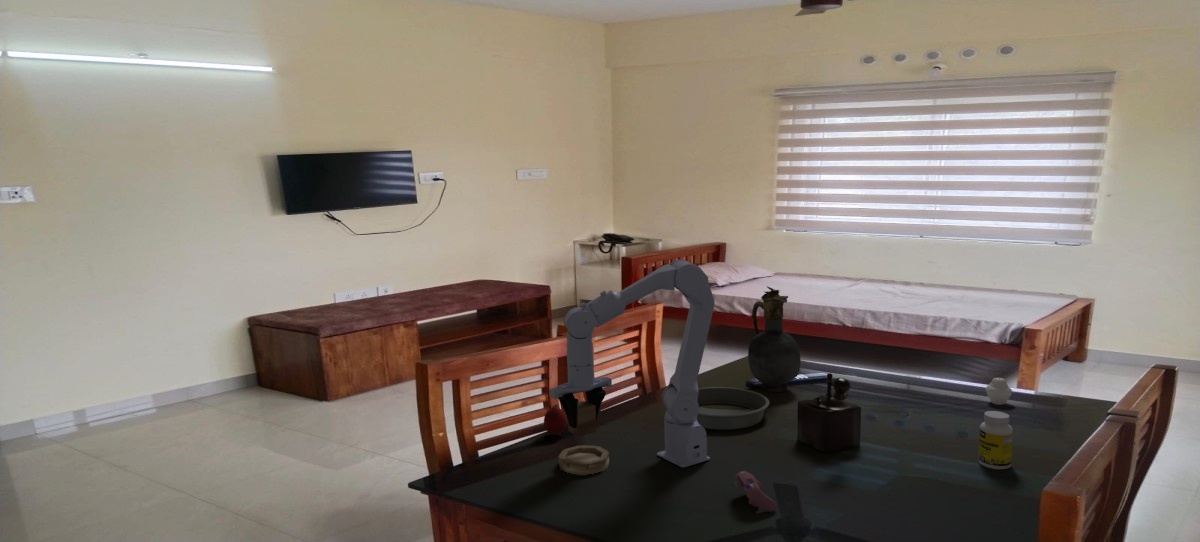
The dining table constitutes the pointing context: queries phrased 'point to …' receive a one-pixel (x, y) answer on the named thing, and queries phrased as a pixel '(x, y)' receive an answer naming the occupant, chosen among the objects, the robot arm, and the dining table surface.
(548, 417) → the onion
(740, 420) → the cake pan
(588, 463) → the base
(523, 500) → the dining table surface
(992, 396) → the white rounded lump
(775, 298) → the pitcher
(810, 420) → the manual coffee grinder
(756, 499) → the pink animal figurine
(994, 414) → the pill bottle
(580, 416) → the walnut block
